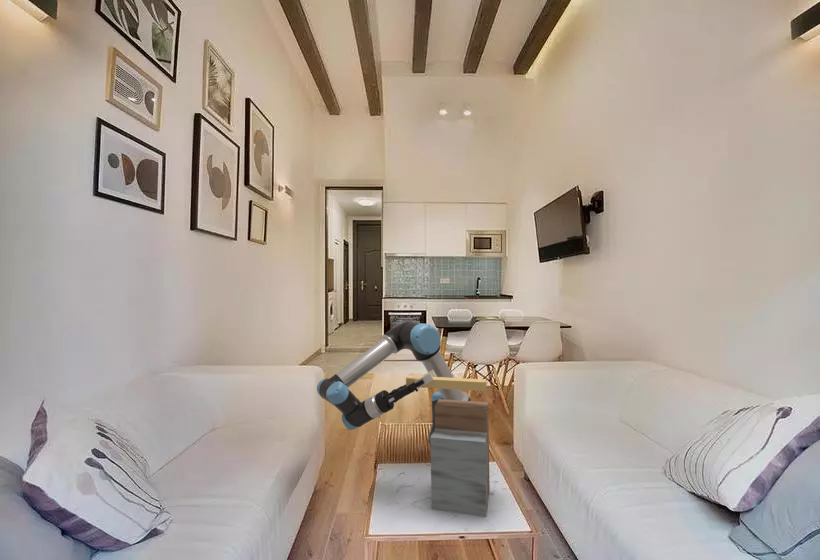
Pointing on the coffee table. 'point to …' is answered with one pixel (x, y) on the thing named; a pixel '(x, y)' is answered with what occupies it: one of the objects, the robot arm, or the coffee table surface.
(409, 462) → the coffee table surface
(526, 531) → the coffee table surface
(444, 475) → the stepped stand
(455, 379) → the ochre batten
